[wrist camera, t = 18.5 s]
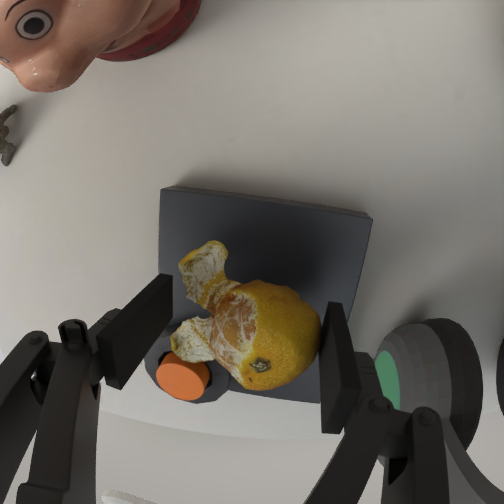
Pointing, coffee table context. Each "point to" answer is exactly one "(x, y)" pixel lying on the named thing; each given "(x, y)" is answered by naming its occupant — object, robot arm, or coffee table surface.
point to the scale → (260, 264)
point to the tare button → (182, 377)
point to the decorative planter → (84, 35)
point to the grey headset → (442, 394)
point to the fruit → (245, 324)
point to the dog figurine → (3, 146)
